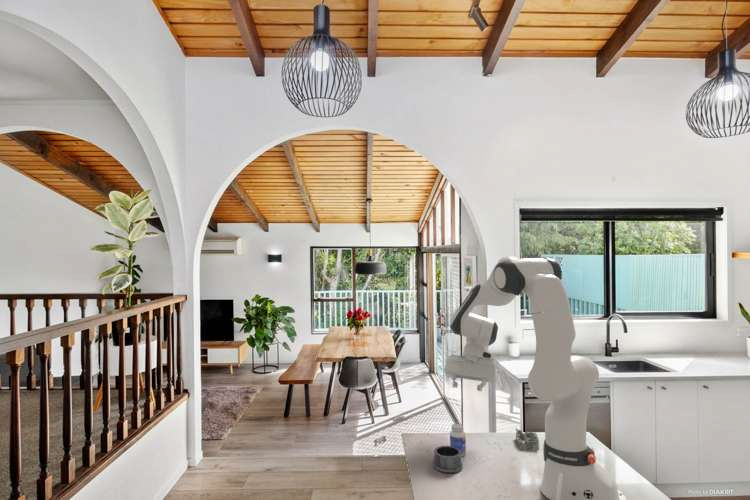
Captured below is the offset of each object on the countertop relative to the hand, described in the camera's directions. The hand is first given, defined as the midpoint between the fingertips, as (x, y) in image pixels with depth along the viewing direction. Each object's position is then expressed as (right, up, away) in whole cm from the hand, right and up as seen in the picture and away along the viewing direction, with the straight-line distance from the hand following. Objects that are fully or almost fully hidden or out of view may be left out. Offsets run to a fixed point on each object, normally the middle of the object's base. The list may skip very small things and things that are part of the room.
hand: (466, 388), depth 166 cm
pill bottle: (-6, -19, -11) cm, 23 cm away
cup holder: (-11, -19, -21) cm, 30 cm away
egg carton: (+22, -20, -4) cm, 29 cm away
